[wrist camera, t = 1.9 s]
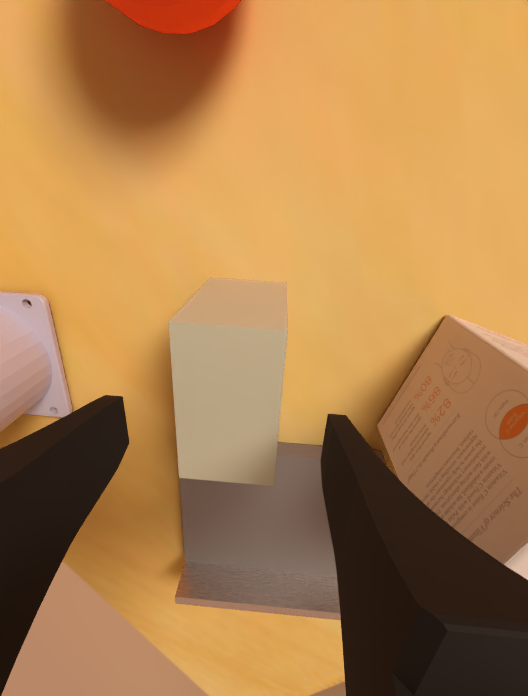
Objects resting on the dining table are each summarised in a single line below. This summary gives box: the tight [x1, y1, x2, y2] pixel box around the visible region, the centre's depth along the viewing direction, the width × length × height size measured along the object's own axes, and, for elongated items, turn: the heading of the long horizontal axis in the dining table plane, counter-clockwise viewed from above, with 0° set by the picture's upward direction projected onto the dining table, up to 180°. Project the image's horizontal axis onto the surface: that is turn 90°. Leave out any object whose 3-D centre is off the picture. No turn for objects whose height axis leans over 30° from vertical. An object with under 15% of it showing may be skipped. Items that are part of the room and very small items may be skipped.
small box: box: [377, 315, 528, 580], centre depth 14 cm, size 8×6×10 cm
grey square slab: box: [175, 442, 386, 620], centre depth 22 cm, size 13×12×4 cm
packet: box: [168, 277, 288, 486], centre depth 16 cm, size 4×7×7 cm, turn 177°
